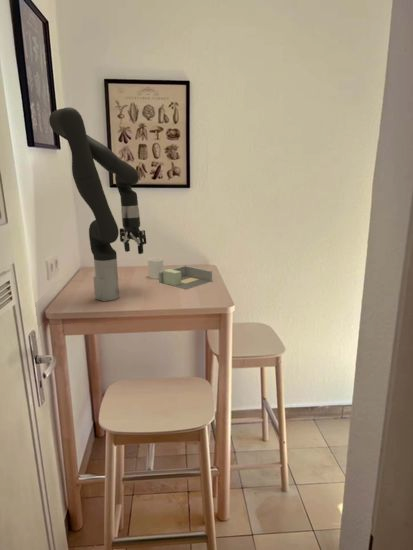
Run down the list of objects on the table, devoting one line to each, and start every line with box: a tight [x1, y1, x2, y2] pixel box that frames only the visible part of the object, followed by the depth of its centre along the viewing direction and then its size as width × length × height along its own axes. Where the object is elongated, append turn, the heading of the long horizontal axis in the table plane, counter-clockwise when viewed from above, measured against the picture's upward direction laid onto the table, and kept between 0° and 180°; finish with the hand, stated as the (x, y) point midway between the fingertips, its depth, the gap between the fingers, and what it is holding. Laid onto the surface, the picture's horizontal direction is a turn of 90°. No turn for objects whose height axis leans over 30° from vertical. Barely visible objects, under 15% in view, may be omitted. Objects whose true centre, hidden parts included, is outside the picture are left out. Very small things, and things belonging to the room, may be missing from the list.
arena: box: [158, 265, 213, 291], centre depth 181 cm, size 18×18×6 cm
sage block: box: [163, 268, 181, 287], centre depth 179 cm, size 4×8×6 cm, turn 49°
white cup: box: [147, 257, 164, 280], centre depth 190 cm, size 8×8×10 cm
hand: (134, 252), depth 168 cm, fingers open, 8 cm apart
